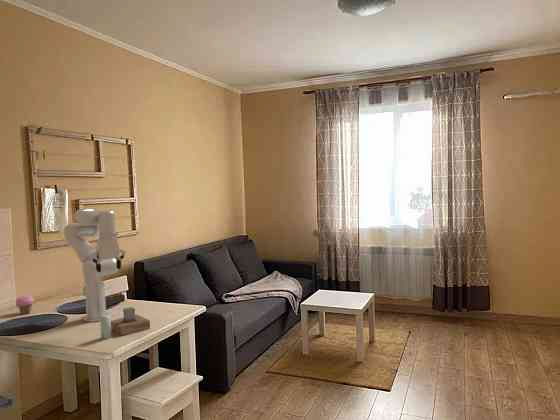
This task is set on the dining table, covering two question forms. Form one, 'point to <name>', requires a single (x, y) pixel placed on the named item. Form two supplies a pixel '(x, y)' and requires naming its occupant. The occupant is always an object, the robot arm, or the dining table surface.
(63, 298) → the dining table surface
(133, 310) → the square peg
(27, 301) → the cupcake
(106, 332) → the round peg
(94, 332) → the dining table surface
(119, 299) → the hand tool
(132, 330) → the socket block
